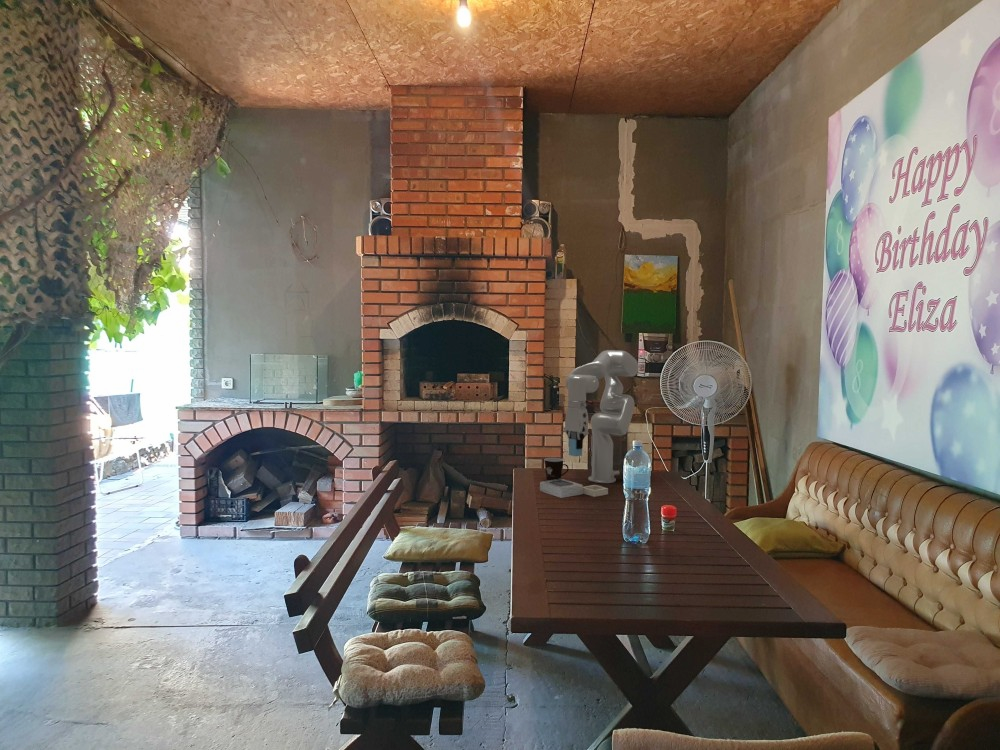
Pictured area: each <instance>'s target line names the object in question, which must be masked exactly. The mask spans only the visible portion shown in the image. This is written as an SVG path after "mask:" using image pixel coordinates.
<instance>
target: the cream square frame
mask: <svg viewBox="0 0 1000 750" xmlns="http://www.w3.org/2000/svg"><path fill="white" fill-rule="evenodd" d="M582 495H588V496H589V497H592V498H595V497H600V496H601V497H602V496H606V495H609V488H608V487H604V486H602V485H597V484H592V485H586V486H583V494H582Z"/></svg>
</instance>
